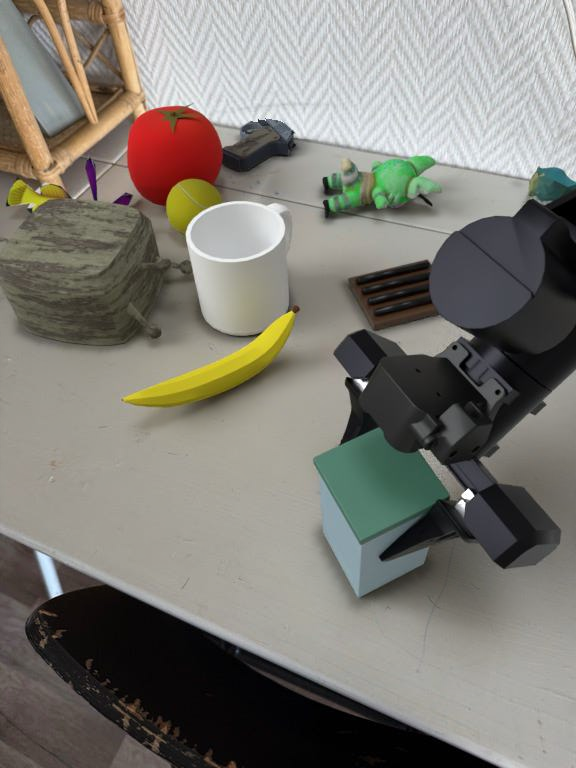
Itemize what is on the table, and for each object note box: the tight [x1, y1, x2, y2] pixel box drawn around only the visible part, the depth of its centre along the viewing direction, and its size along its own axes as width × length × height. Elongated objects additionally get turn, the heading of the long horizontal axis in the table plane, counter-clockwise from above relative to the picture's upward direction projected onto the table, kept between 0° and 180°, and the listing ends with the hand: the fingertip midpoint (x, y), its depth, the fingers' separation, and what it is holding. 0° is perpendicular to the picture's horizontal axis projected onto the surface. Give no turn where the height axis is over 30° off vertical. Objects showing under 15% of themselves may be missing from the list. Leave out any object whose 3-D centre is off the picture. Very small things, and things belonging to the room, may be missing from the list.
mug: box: [185, 200, 293, 337], centre depth 64 cm, size 13×10×10 cm
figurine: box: [526, 165, 576, 206], centre depth 76 cm, size 12×9×8 cm
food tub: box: [312, 427, 451, 599], centre depth 43 cm, size 6×6×13 cm
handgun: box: [222, 118, 297, 172], centre depth 89 cm, size 2×14×12 cm
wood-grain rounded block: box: [0, 198, 193, 346], centre depth 66 cm, size 14×9×25 cm
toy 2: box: [321, 155, 443, 219], centre depth 77 cm, size 10×7×15 cm
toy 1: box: [4, 153, 134, 214], centre depth 76 cm, size 12×19×10 cm
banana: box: [121, 305, 301, 409], centre depth 58 cm, size 3×19×6 cm, turn 122°
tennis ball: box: [165, 179, 224, 237], centre depth 74 cm, size 7×7×7 cm
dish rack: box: [347, 259, 440, 332], centre depth 67 cm, size 10×8×2 cm
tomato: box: [126, 102, 223, 207], centre depth 78 cm, size 12×14×11 cm
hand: (355, 517), depth 43 cm, fingers closed on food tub, 7 cm apart
